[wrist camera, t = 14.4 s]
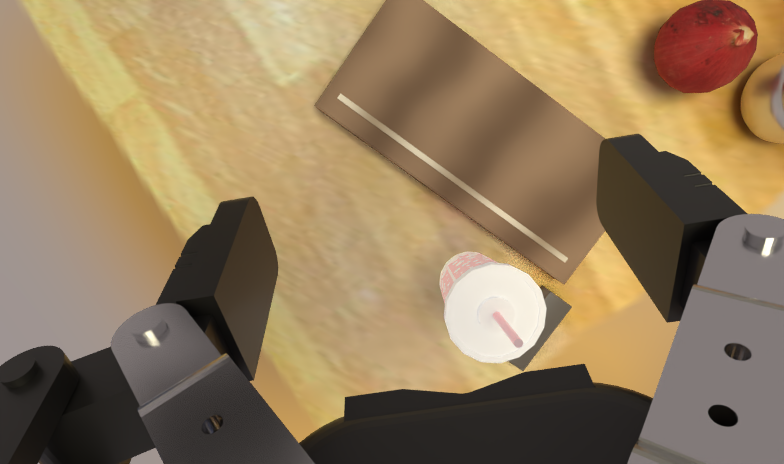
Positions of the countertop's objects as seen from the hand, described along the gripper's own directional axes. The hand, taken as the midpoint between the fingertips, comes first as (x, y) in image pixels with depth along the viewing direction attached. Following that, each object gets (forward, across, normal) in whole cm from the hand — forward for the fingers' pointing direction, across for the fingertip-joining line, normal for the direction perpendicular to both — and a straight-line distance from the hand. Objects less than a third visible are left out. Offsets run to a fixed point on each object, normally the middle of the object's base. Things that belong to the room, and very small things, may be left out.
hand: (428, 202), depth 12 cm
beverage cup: (+21, -3, +20) cm, 29 cm away
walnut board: (+24, -3, +13) cm, 27 cm away
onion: (+28, -20, +8) cm, 35 cm away
